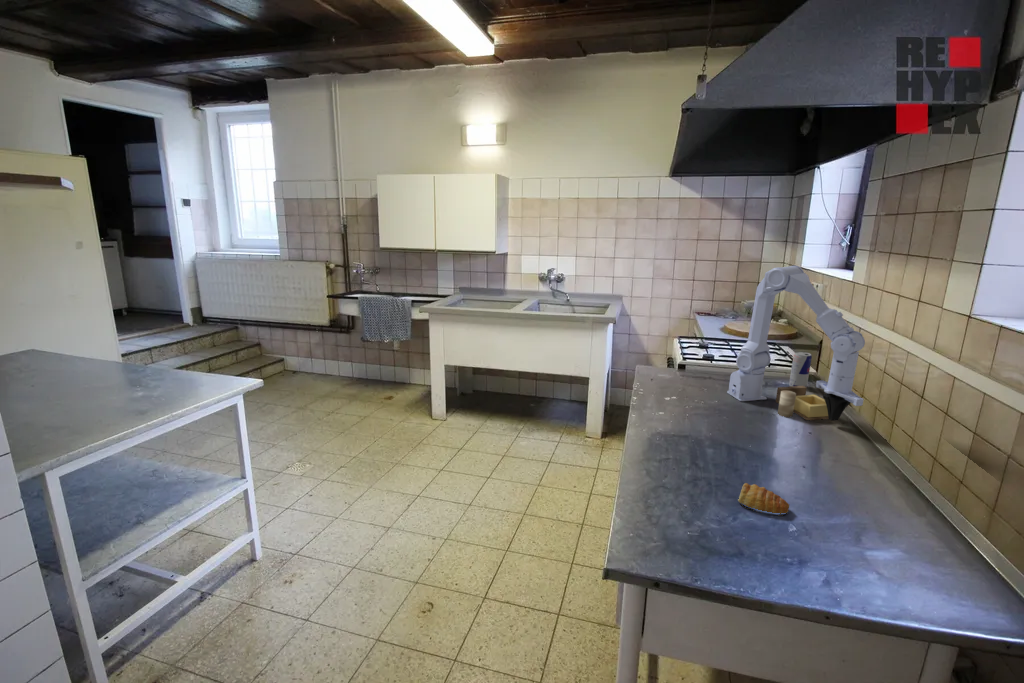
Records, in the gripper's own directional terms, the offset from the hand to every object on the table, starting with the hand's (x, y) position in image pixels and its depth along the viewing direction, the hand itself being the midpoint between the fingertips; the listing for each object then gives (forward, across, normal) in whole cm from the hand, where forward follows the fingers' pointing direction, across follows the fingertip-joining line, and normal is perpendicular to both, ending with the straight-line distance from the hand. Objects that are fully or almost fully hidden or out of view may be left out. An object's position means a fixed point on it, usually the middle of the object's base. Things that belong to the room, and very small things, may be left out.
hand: (833, 419), depth 139 cm
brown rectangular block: (+2, -11, 0) cm, 11 cm away
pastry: (+2, +31, -44) cm, 54 cm away
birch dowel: (+2, -9, -8) cm, 12 cm away
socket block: (+2, -9, 0) cm, 9 cm away
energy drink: (+2, -29, +12) cm, 32 cm away
